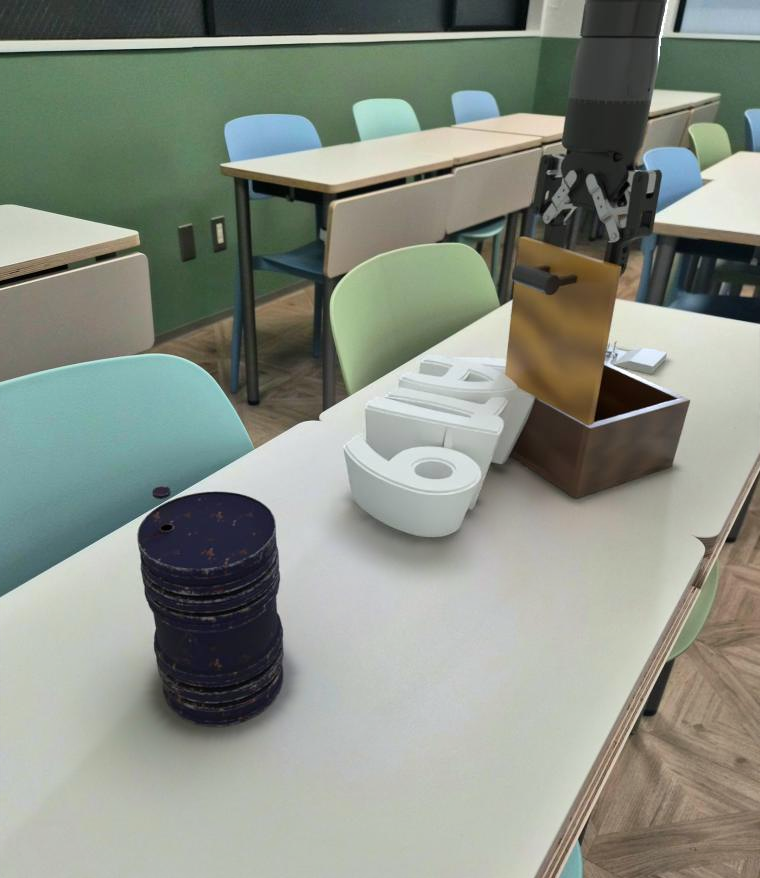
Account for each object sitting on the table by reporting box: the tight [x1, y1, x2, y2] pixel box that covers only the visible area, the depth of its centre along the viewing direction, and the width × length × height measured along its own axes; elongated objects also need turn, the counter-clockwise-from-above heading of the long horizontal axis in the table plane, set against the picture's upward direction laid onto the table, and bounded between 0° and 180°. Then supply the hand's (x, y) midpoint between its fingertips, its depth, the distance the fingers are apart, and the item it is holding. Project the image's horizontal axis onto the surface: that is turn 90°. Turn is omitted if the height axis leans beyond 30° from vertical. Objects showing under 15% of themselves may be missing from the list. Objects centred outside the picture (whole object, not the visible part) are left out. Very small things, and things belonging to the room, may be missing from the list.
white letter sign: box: [342, 353, 537, 538], centre depth 84 cm, size 35×16×10 cm, turn 149°
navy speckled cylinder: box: [136, 485, 284, 728], centre depth 55 cm, size 10×10×18 cm
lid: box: [505, 235, 621, 426], centre depth 78 cm, size 17×14×5 cm
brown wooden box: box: [509, 362, 691, 500], centre depth 90 cm, size 16×14×9 cm
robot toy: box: [605, 340, 668, 375], centre depth 120 cm, size 7×12×2 cm, turn 53°
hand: (580, 268), depth 77 cm, fingers open, 8 cm apart
